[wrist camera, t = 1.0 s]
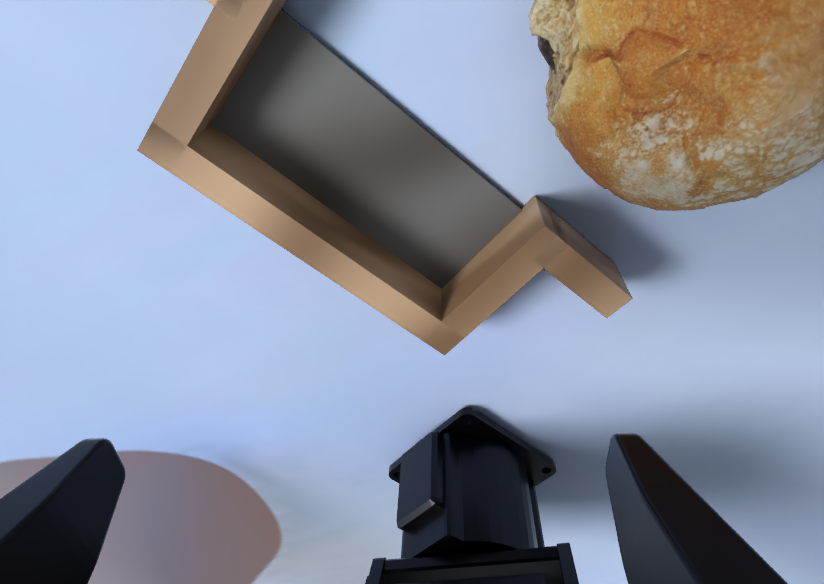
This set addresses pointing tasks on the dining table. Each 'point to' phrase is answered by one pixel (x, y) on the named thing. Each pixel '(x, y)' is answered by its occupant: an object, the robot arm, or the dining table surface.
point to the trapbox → (356, 181)
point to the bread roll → (685, 94)
